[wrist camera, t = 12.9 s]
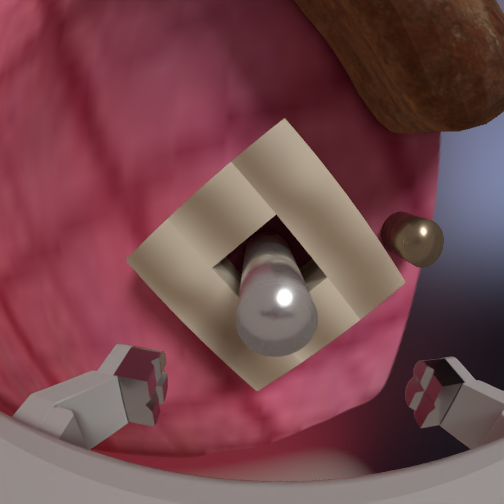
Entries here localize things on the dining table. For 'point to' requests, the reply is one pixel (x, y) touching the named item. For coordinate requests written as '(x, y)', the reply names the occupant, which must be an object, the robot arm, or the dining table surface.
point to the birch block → (243, 226)
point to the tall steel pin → (274, 299)
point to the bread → (419, 58)
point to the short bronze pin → (413, 238)
